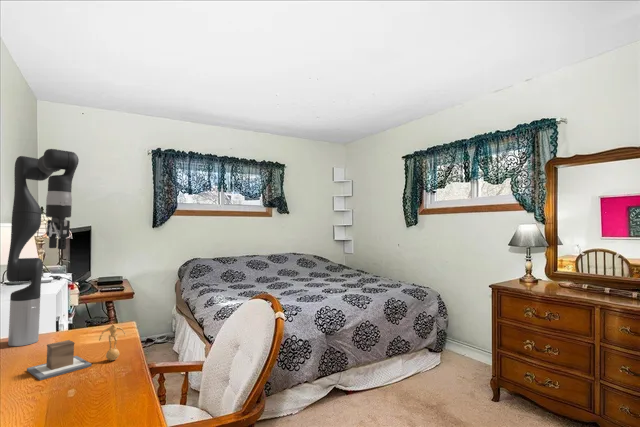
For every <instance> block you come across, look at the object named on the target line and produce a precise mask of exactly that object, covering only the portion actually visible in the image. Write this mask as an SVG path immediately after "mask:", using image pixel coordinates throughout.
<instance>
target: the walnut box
mask: <svg viewBox="0 0 640 427" xmlns="http://www.w3.org/2000/svg"><path fill="white" fill-rule="evenodd" d="M75 344H76V342H74V341H72V340H70V339H68V340H63V341H62V340H61V341H58V342H53V343H49V344H48V343H47V344H46V367H48V368H49V369H51V370H54V369H58V368H61V367H65V366H69V365H73V358H74V356H75V355H74V353H75V351H74V350H75Z"/></svg>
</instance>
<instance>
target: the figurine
mask: <svg viewBox="0 0 640 427" xmlns="http://www.w3.org/2000/svg"><path fill="white" fill-rule="evenodd" d="M117 330H121V331H122V333H123V334H124V336H125V338H127V334H126V332H125V330H124V328H122V327H119V326H117V325H115V324H112V325H110V326H109V327H107V328H105V329H104V330H103V331H102V332H101V335H99V338H98V341H101V340H102V337H103V334H104V333H105V332H108V331H109V333H110V334H109V335H108V343H109V349H108V351H107V352H106V354H105V357H106V359H107V360H108V361H116V360H117V359H118V358H119V357H120V351H119V349H118V348H117V345H116V344H117V342H118V334H116V332H117ZM113 340H114V346H113V348H112V341H113Z"/></svg>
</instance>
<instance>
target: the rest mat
mask: <svg viewBox="0 0 640 427" xmlns="http://www.w3.org/2000/svg"><path fill="white" fill-rule="evenodd" d="M46 363H47V362H46ZM46 363H42V364H38V365H33V366H30V367H27V368H26V371H27V372H28V373H29V374H31V375H32V376H34V378H36V379H37V380H39V381H43V380H47V379H51V378H55V377H58V376H61V375H64V374H67V373H71V372H75V371H78V370H83V369H86V368H89V367H93V366H92V363H91V362H89V361H87V360H86V359H84V358H83V357H80V356H78V355H74V358H73V365H69V366H65V367H61V368H58V369H54V370H51V369H49V368H48V367H46Z"/></svg>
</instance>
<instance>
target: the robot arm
mask: <svg viewBox="0 0 640 427" xmlns="http://www.w3.org/2000/svg"><path fill="white" fill-rule="evenodd" d="M79 162H80V161H79V156H78V155H77V153H75V152H73V151H68V150H64V149H63V150H62V149H57V148H48V149H45V151H44V153H43V155H42V156H41V157H39V158H36V157H30V156H25V155H20V156H18V157H17V158H16V160H15V163H14V175H13V176H14V178H13V179H14V193H13V194H14V195H13V205H12V212H11V213H12V214H11V227H10V228H11V230H10V231H11V232H10V244H9V252H8V257H7V258H8V259H7V266H6V274H5V276H6V279H7V281H8V282H9V283H22V282H24V283H25V282H26V283H27V282H30V283H29V285H27V286H26V287H24V288H21V289H18V290H15V291H12V292H11V293H10V300H9V317H8V318H9V321H8V337H7V338H8V340H7V341H8V342H7V343H8V344H7V345H8V346H10V347H22V346H27V345H32V344H35V343H37V342H38V341H39V337H40V334H39V333H40V332H39V331H40V313H41V292H42V290H41V289H42V288H41V287H42V286H41V285H42V277H43V276H42V275H43V270H44V269H43V266H44V265H43V260H42V258H40V257H28V258H27V257H25V258H24V257H23V258H20V255H21V253H22V251H23V249H24V248H25V246H26V245H27V243H28V242H29V241H30V240H31V239H32V237H33V236H34V235H36V233H37V232H38V231H39V229H40V228H41V225H42V209H41V208H42V207H40V205H39V202H38V201H37V200H36V199H35V198H34V196H33V195H32V193H31V192H30V190H29V187H28V184H27V180H30V181H37V182H39V181H40V182H41V181H45V180H47V179H48V180H47V194H46V203H45V204H46V205H45V217H46V218H51V219H47V221H46V222H47V225H46V237H48V248H49V249H56V248H57V250H61V251H62V250H66V248H67V239H68V238H70V231H71V230H70V226H71V224H70V223H71V222H70V219H69V220H67V218H71V217H72V206H73V203H72V202H73V198H72V189H73V188H72V186H73V185H72V184H73V178H74V175H75V173H76V169H77V167H78V166H79ZM61 170H64V172H63V173H62V174H55V175H54V173H57V172H59V171H61Z"/></svg>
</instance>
